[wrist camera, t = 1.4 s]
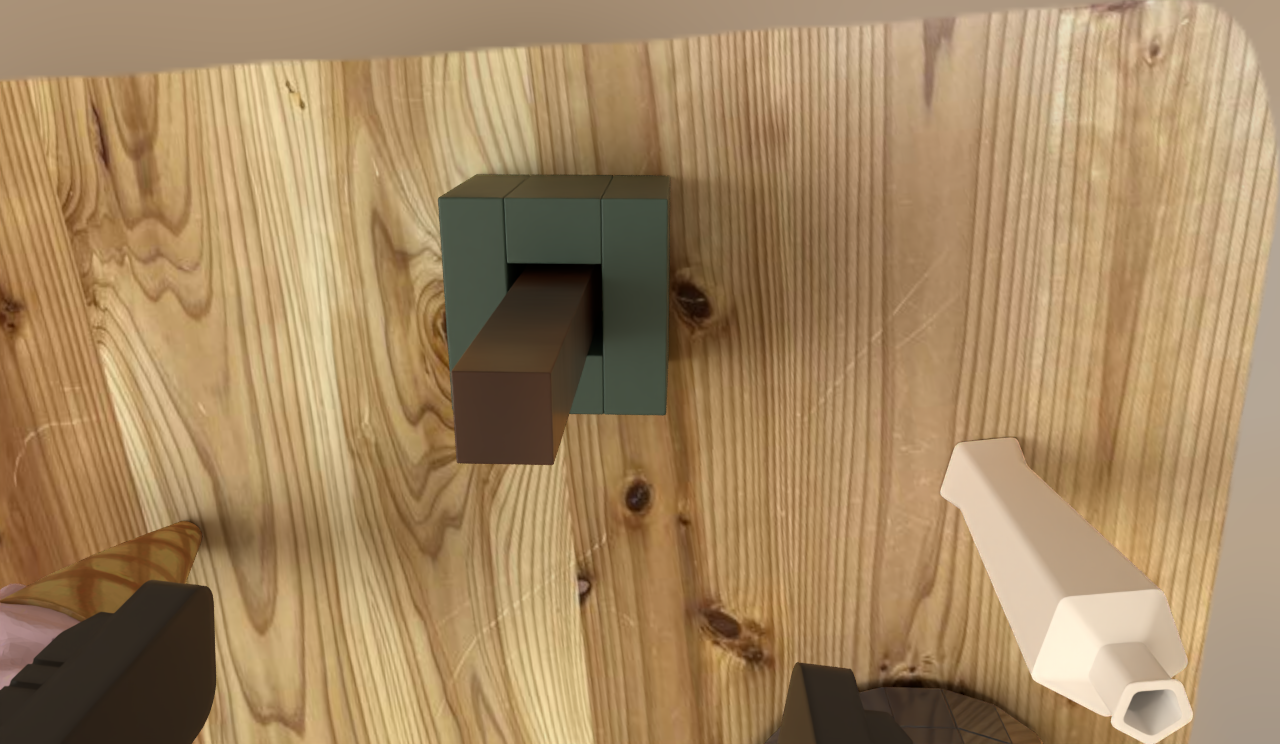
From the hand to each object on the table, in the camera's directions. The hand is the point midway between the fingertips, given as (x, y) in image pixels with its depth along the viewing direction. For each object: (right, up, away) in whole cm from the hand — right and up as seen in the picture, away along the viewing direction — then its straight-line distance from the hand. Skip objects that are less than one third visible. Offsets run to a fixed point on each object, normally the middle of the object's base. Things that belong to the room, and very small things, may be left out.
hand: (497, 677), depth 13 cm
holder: (-1, +8, +25) cm, 26 cm away
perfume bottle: (+16, 0, +27) cm, 32 cm away
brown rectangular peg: (-1, +8, +25) cm, 26 cm away
